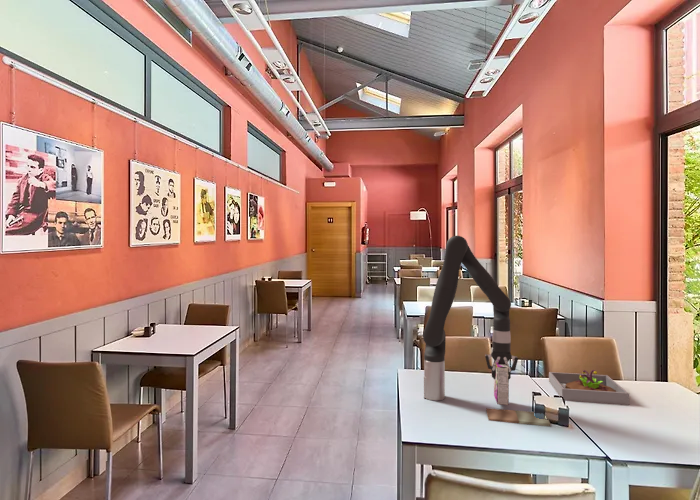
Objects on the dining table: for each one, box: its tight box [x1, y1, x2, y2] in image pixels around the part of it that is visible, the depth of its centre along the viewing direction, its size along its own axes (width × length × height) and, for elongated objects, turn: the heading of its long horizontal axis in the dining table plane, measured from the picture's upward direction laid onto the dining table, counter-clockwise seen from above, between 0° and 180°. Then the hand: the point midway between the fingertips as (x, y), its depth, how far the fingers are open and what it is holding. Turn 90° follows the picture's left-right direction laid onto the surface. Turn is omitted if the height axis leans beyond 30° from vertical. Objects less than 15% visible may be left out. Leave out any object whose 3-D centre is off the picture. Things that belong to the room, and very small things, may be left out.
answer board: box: [485, 408, 551, 427], centre depth 172 cm, size 23×11×2 cm, turn 76°
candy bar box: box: [493, 364, 510, 406], centre depth 185 cm, size 11×5×16 cm, turn 169°
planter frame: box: [548, 371, 630, 406], centre depth 201 cm, size 27×27×5 cm
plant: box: [564, 369, 616, 392], centre depth 203 cm, size 20×20×11 cm
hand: (501, 378), depth 185 cm, fingers closed on candy bar box, 5 cm apart
